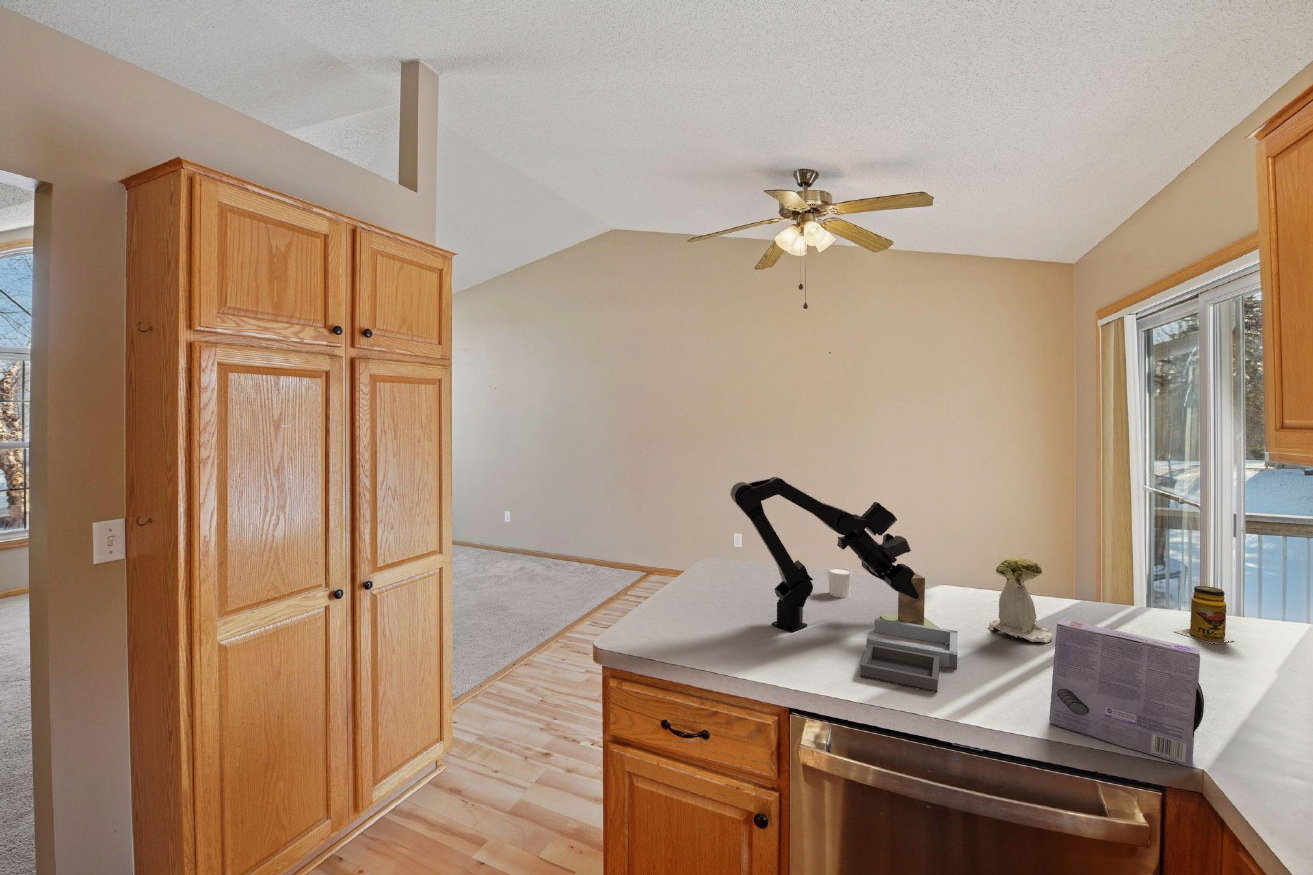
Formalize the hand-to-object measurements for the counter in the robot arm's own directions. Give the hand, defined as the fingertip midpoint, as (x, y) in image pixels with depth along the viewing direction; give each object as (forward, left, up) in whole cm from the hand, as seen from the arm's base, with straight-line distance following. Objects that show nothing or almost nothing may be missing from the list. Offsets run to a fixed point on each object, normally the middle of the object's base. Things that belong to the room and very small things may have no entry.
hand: (908, 591), depth 145 cm
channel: (-13, -8, -8) cm, 17 cm away
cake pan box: (-24, -47, -9) cm, 54 cm away
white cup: (+8, +25, -9) cm, 27 cm away
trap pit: (-28, -12, -8) cm, 31 cm away
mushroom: (+15, -20, -9) cm, 27 cm away
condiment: (+47, -49, -9) cm, 69 cm away
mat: (+1, 0, -8) cm, 8 cm away
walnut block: (0, 0, -8) cm, 8 cm away
